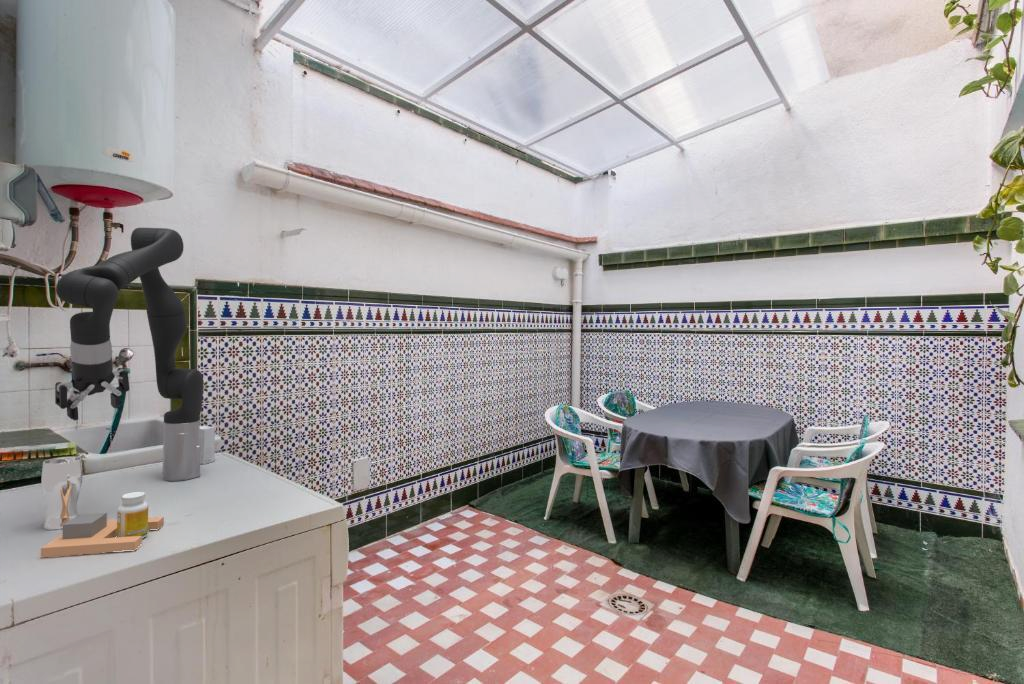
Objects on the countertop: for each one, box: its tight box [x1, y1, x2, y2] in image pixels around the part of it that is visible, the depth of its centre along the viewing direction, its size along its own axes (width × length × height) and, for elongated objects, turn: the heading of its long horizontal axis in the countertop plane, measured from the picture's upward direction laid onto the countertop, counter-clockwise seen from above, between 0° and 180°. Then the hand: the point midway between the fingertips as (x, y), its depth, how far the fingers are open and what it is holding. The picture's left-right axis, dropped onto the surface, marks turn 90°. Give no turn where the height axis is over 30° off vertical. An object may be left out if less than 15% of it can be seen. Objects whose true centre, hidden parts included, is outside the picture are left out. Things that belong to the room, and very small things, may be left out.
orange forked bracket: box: [40, 512, 165, 559], centre depth 106 cm, size 16×14×5 cm
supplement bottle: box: [116, 491, 149, 539], centre depth 108 cm, size 5×5×10 cm
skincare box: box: [199, 425, 216, 465], centre depth 169 cm, size 6×4×12 cm
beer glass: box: [40, 456, 83, 531], centre depth 114 cm, size 7×7×15 cm
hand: (95, 412), depth 124 cm, fingers open, 8 cm apart
